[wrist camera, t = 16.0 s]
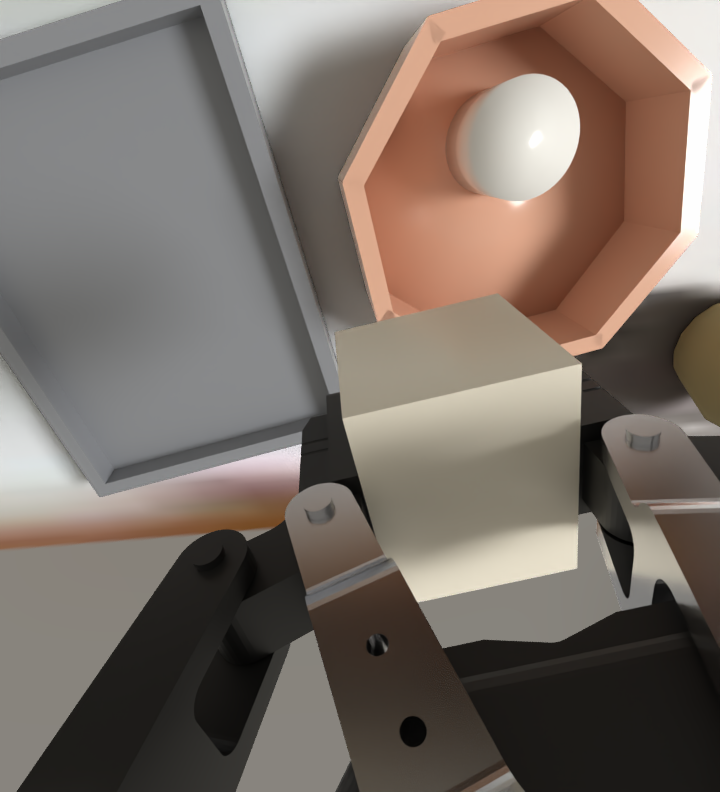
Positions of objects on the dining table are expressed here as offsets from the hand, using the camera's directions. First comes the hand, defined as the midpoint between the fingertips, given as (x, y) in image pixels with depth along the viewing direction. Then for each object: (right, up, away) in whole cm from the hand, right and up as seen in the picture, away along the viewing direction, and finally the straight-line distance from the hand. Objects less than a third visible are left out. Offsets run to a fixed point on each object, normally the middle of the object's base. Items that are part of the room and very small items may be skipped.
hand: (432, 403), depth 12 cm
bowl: (+5, +10, +12) cm, 16 cm away
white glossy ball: (+4, +12, +10) cm, 16 cm away
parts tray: (-13, +6, +12) cm, 19 cm away
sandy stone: (0, 0, 0) cm, 0 cm away
